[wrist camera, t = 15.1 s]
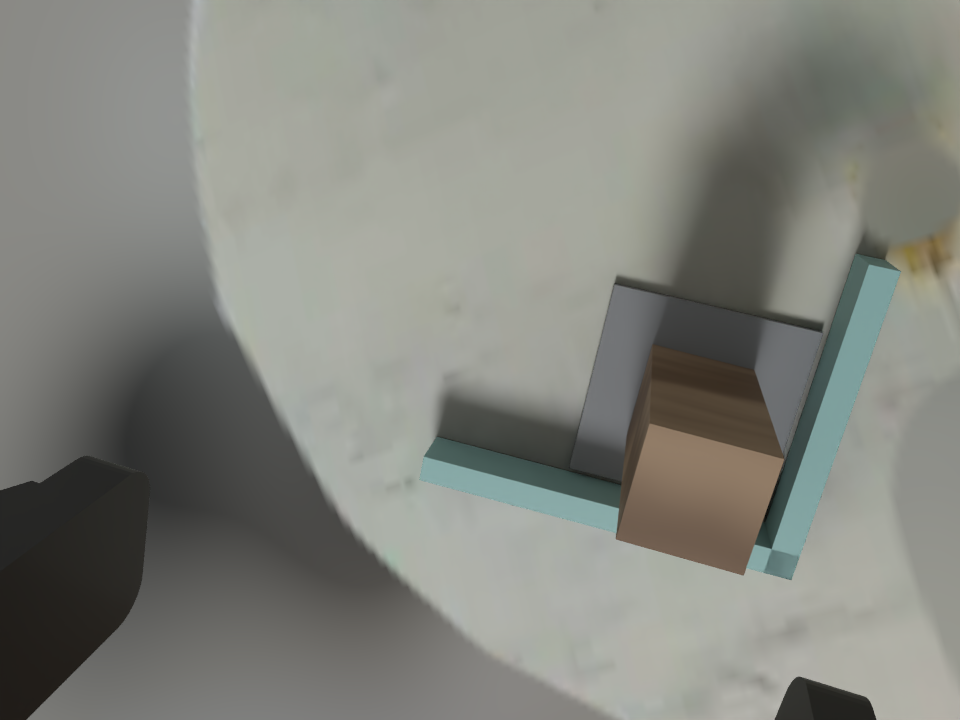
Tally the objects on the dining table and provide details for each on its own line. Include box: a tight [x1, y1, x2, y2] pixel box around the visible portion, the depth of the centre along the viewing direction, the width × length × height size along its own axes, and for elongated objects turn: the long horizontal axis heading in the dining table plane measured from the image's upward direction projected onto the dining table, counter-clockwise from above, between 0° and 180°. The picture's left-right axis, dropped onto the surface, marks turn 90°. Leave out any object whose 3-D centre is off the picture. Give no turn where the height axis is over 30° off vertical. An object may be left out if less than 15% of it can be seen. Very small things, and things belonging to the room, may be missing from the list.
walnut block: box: [616, 344, 784, 575], centre depth 34 cm, size 4×4×10 cm
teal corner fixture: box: [420, 254, 901, 580], centre depth 38 cm, size 14×17×2 cm
